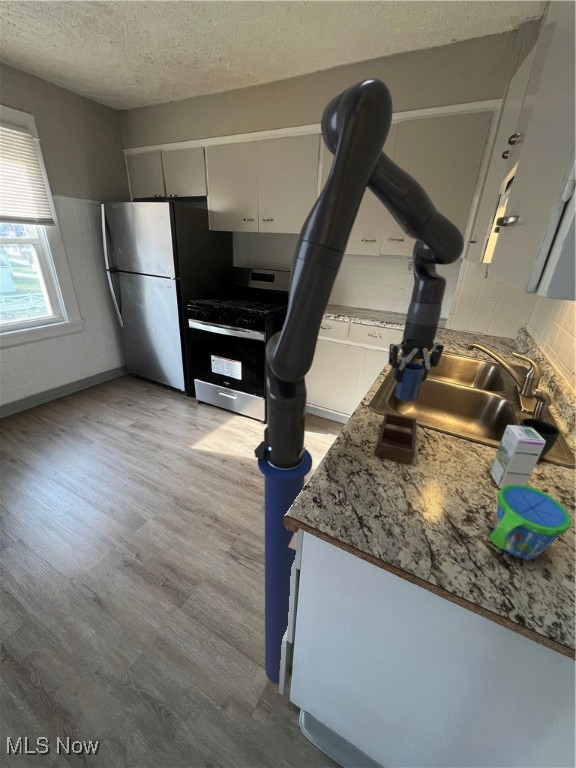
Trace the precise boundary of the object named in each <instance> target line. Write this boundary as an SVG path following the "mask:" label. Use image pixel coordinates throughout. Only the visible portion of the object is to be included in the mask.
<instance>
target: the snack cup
mask: <svg viewBox="0 0 576 768" xmlns="http://www.w3.org/2000/svg"><path fill="white" fill-rule="evenodd" d="M496 496H497V497H496V499H497V503H498V504H497V509H496V513H495V519H494V526H493V531H492V533H490V534H489V539H490V541H491V542H492V544H493V545H495V546H496V547H497V548H499V549H501V550H503V551H505V552H507V553H509V554H510V555H512V556H514V557H517V558H520V559H523V560H526V561H531V560H533V559H534V560H535V559H537V558H538V557H539V556H540V555H542V554H543V553H544V551H546V550H547V549H548V548H549V547H550V546H551V544H552V543H554V542H555V540H556V539H558V537H559V536H561V535H564V534H565V533H566V532H567V531H568V530H569V528H570V527H571V526H572V519H571V516H570V513H569V512H568V510H567V509H566V508H565V507H564V506H563V505H562V504H561V503H560V502H559V501H557V500H556V499H555V498H554V497H552V496H551V495H548V494H547V493H545V492H544V491H541V490H539V489H537V488H535V487H531V486H527V485H526V486H524V485H517V484H511V485H506V486H504V487H503V488H502V489H500V490H499V492H497V495H496Z"/></svg>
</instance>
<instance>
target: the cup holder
mask: <svg viewBox="0 0 576 768" xmlns="http://www.w3.org/2000/svg"><path fill="white" fill-rule="evenodd" d="M416 434H417V418H415V417H414V418H413V417H409V416H404V415H399V414H394V413H391V412H390V413H389V412H384V416H383V419H382V423H381V428H380V433H379V437H378V440H377V446H376V451H375V457H378V458H382V459H387V460H390V461H393V462H397V463H402V464H404V465H405V464H406V465H410V466H412V464H413V462H414V461H413V460H414V457H415V453H416Z"/></svg>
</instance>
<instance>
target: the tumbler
mask: <svg viewBox="0 0 576 768" xmlns="http://www.w3.org/2000/svg"><path fill="white" fill-rule="evenodd" d="M424 371H425V367H424V366H423V365H421V363H418V362H414V361H413V362H412V361H410V362H409V363H408V364H406V365H405V367H404V368H403V375H402V380H401V383H397V382H396V387H395V393H394V396H395V397H396V398H397V399H398V400H401V401H404V402H409V403H410V402H411V403H412V402H416V401H418V399H419V396H420V391H421V387H422V383H423V382H422V379H423V375H424Z"/></svg>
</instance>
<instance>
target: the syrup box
mask: <svg viewBox="0 0 576 768" xmlns="http://www.w3.org/2000/svg"><path fill="white" fill-rule="evenodd" d="M505 428H506V430H505V429H504V431H505V432H503V435H502V438H501V440H500V443H499V445H498V449H497V451H496V454H495V456H494V459H493V462H492V464H491V468H490V470H489V475H490V476H491V478H492V479H493V481H494V483H495V485H496V486H497V488H498V489H500V490H501V489H502V488H503V487H504V486H506V485H511V484H517V485H524V486H527V485H528V482H529V480H530V478H531V476H532V473H534V472H533V471H534V469H535V467H536V465H537V463H538V462H539V461H538V458H539V456H540V454H541V452H542V450H543V447H544V445H545V443H546V441H545V440H544V439H543V438H542V437H541V436H540V435H539V434H538V433H537V432H536V431H535V430H534V429H533V428H532V427H527V426H519V424H517V425H516V424H507V425H506V427H505ZM537 461H538V462H537Z"/></svg>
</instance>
